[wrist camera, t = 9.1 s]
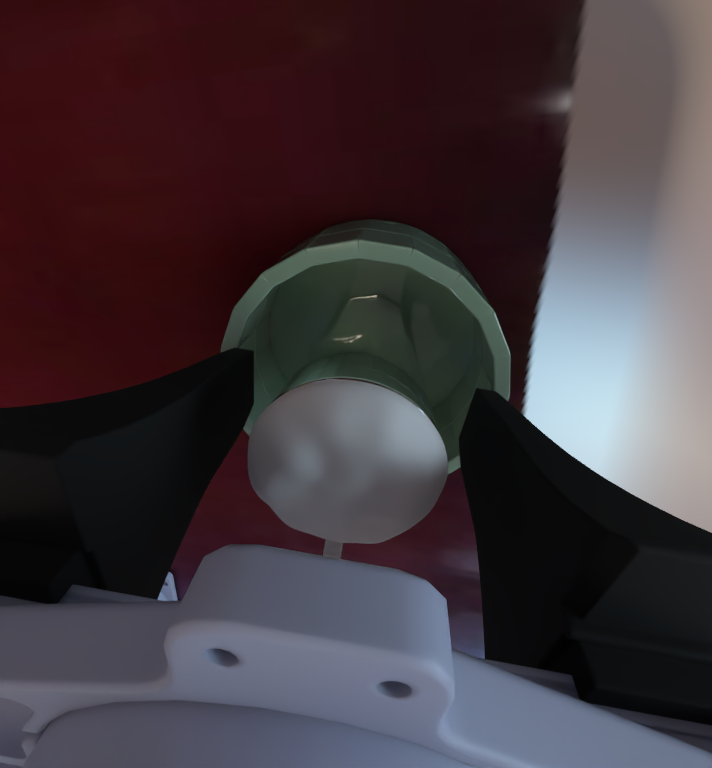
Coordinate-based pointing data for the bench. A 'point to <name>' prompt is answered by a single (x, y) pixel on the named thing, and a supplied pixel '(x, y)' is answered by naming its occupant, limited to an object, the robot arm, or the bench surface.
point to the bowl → (394, 283)
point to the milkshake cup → (352, 434)
